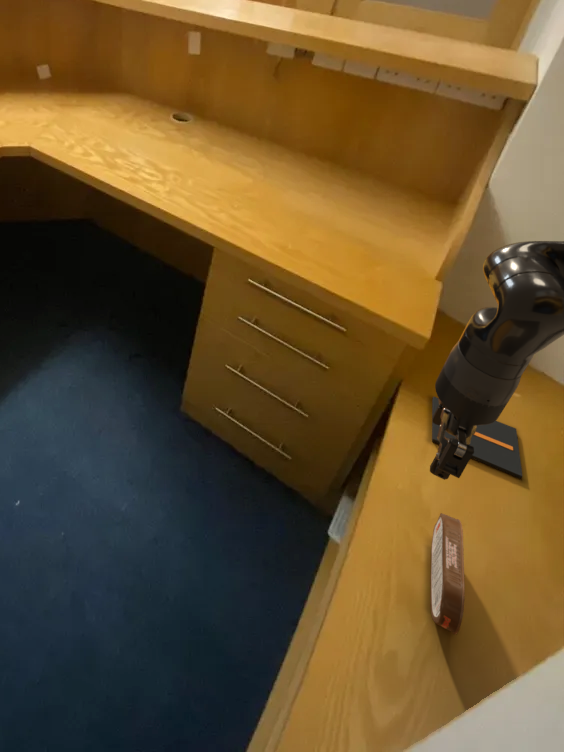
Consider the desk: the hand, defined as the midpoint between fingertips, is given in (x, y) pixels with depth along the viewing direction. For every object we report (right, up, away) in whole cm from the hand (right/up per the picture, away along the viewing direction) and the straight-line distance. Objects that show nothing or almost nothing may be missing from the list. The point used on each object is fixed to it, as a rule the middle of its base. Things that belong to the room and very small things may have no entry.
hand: (438, 447), depth 75 cm
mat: (+21, -11, +22) cm, 32 cm away
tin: (+2, -22, +3) cm, 23 cm away
